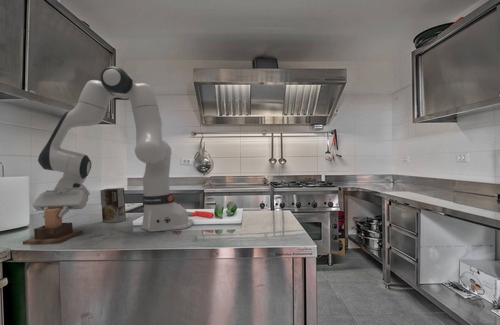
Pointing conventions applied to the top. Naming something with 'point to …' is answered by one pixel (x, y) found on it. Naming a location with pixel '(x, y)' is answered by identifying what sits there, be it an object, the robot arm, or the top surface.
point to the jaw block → (52, 218)
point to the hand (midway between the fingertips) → (52, 217)
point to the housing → (53, 234)
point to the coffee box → (113, 205)
